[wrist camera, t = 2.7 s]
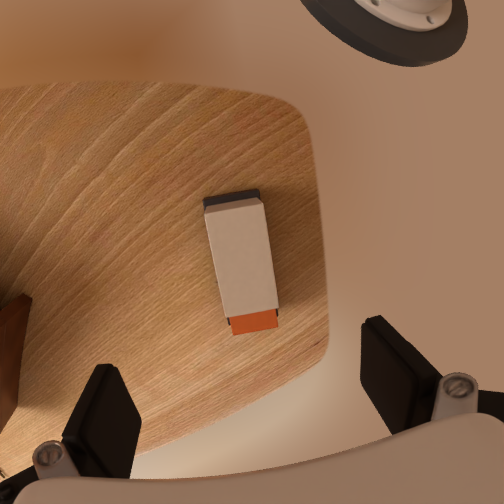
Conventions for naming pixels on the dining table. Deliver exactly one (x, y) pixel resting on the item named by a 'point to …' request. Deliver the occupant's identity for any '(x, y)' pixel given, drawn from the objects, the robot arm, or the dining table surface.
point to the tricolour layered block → (242, 260)
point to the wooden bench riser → (11, 353)
